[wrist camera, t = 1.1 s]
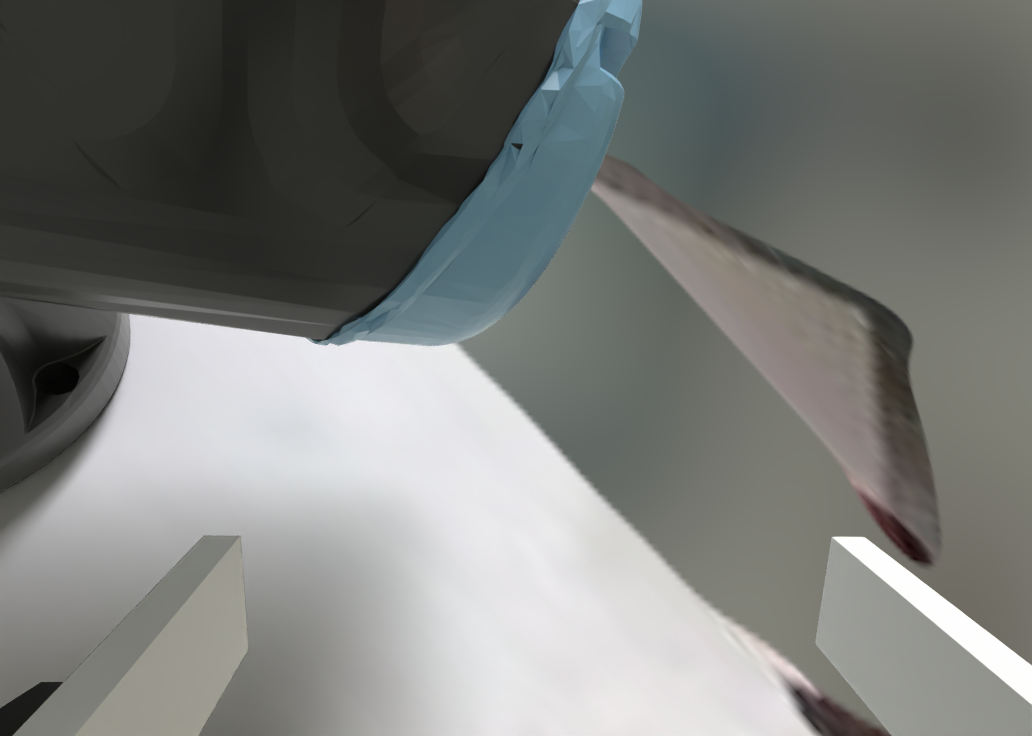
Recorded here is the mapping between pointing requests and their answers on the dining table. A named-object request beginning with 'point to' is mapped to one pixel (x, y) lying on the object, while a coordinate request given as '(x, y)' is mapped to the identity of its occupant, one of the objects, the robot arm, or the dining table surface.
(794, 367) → the dining table surface
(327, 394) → the dining table surface
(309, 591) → the dining table surface
